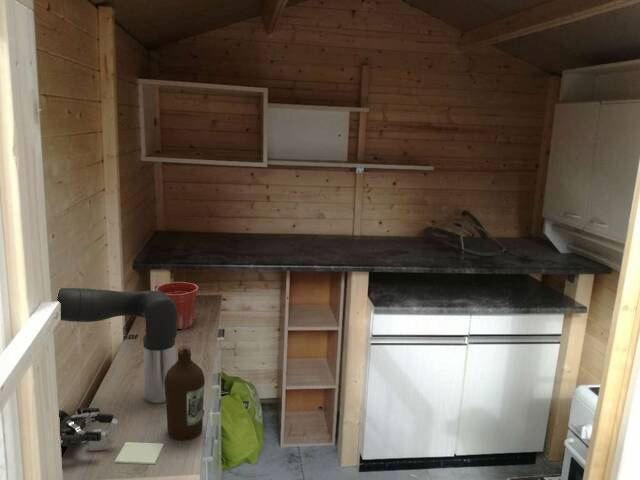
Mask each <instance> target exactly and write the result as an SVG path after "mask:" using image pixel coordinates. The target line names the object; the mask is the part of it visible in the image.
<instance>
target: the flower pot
mask: <svg viewBox="0 0 640 480" xmlns="http://www.w3.org/2000/svg"><path fill="white" fill-rule="evenodd" d="M198 289H199V286H198V285H197V284H195V283H192V282H185V281H175V282H174V281H173V282H167V283H164V284H163V283H162V284H160V285H158V286H157V287H156V289H155V291H161V292H163V293H165V294H167V295H168V296H169V297H170V298H171V299H172V300H173V302H174V303H175V305H176V308H177V329H182V330H185V329H184V328H186V329H189V328H191V327H192V326H193V325H194V317H195V316H194V315H195V303H196V298H197V291H198ZM190 326H191V327H190ZM188 327H189V328H188Z"/></svg>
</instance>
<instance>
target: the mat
mask: <svg viewBox="0 0 640 480" xmlns="http://www.w3.org/2000/svg"><path fill="white" fill-rule="evenodd" d="M164 445H165V444H164V443H159V442H157V443H154V442H134V441H133V442H132V441H131V442H127V441H126V442H125V443H124V445H123V446H122V449H121V450H120V452H119V454H118V455H117V457H116V458H115V460H114V464H131V465H132V464H135V465H156V463H157V461H158V459H159V456H160V455H161V452H162V450H163V448H164Z"/></svg>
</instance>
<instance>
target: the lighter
mask: <svg viewBox="0 0 640 480" xmlns="http://www.w3.org/2000/svg"><path fill="white" fill-rule="evenodd" d="M118 422H119V420H118V419H116V418H114V417H113V419H112V421H111V423H109V425H108V427H107V429H106V430H105V431H104V430H103V431H102V429H101V428H96V429H93V430H91V432H101V440H100V441H88V450H89V452H92V451H104V450H107V448H108V440H107V436H109V437H111V436H112V434H113V432H114V429H115V428H116V426H117V424H118Z"/></svg>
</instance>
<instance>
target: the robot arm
mask: <svg viewBox="0 0 640 480" xmlns="http://www.w3.org/2000/svg"><path fill="white" fill-rule="evenodd" d="M60 288H61V289H60V290H59V293H58V297H57V298H58V299H57V300H58V301H59V302H60V303H61V320H60V321H63V322H72V323H74V322H77V323H83V322H84V323H90V322H91V323H92V322H93V323H95V322H100V321H105V320H107V319H112V318H116V317H125V316H129V317H139V318H144V319H145V335H144V336H143V340H142V341H143V343H142V346H143V373H144V374H143V377H144V381H143V382H144V398H145V401H147V402H148V403H153V404H163V403H166V397H165V385H164V381H165V377H166V374H167V372H168V370H169V369H170V368H171V367H172V366H173V365H174V364H175V363H176V338H177V335H178V333H177V332H178V330H177V308H176V305H175V303H174V302H173V300H172V299H171V298H170V297H169V296H168V295H167V294H165V293H163V292H161V291H157V290H143V291H119V290H109V289H96V288H84V287H83V288H79V287H60ZM100 409H101V408H100V407H77V408H76V413H73V414H68V413H67V412H66V410H63V409H58V410H59V417H60V436H61V446H60V447H72V448H73V447H75V448H78V447H79V446H80V445H81V443H85V442H89V441H100V440H101V432H92V430H90V431H84V430H85V428H87V427H91V425H93V424H96V423H103V424H110V423H111V421H112V419H113V418H114V414H111V413H100V411H101V410H100ZM72 440H73V441H72Z"/></svg>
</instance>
